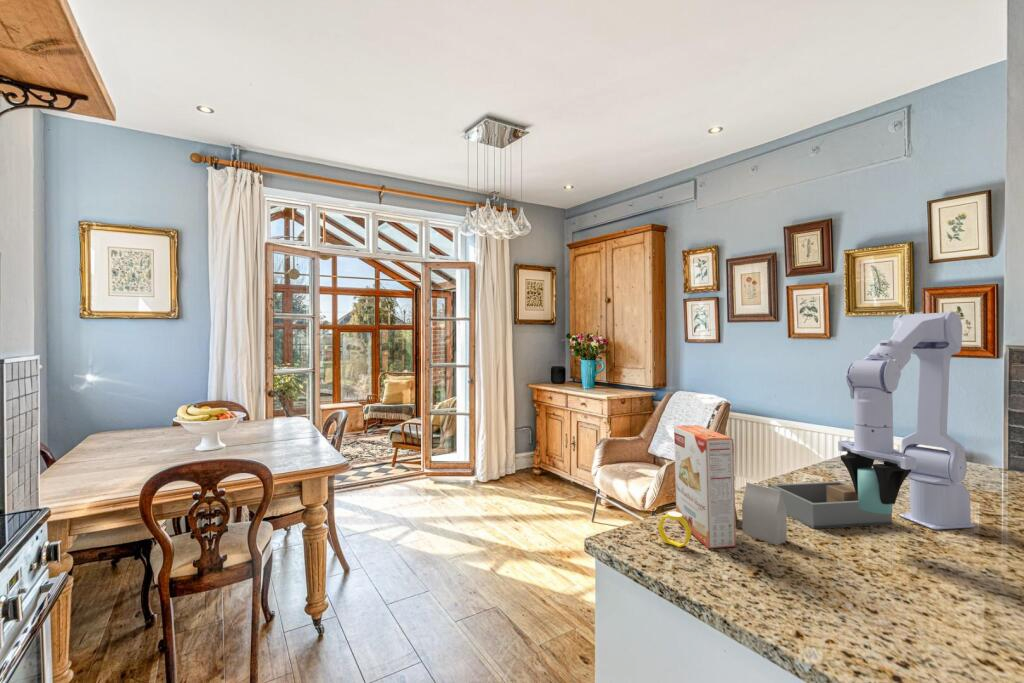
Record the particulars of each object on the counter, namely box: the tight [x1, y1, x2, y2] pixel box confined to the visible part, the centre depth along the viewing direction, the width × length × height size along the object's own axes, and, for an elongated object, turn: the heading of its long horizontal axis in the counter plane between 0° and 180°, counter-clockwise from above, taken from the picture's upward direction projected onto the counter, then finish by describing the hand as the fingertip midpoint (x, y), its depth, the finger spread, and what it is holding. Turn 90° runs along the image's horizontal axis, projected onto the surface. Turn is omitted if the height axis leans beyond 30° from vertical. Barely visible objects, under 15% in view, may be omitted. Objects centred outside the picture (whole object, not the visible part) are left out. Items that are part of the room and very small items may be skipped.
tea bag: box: [741, 482, 788, 546], centre depth 93 cm, size 4×7×10 cm, turn 33°
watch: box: [657, 511, 692, 548], centre depth 90 cm, size 6×3×6 cm, turn 46°
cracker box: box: [673, 424, 737, 549], centre depth 95 cm, size 14×6×21 cm, turn 5°
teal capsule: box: [857, 467, 893, 514], centre depth 87 cm, size 5×5×7 cm
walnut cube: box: [826, 484, 858, 502], centre depth 104 cm, size 5×5×5 cm
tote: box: [769, 480, 893, 530], centre depth 104 cm, size 18×14×5 cm
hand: (874, 498), depth 87 cm, fingers closed on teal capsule, 5 cm apart
